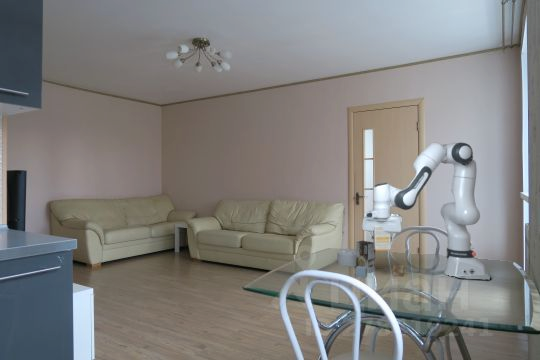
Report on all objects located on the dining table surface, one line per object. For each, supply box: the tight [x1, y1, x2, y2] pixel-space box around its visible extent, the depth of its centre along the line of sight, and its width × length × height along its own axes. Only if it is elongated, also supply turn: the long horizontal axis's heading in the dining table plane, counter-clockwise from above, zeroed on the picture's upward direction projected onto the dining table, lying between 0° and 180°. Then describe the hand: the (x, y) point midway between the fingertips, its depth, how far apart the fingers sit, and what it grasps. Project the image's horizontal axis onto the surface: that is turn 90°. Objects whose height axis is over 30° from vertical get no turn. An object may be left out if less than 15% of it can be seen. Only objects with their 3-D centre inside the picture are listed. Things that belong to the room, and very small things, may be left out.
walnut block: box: [392, 264, 405, 278], centre depth 206 cm, size 5×5×5 cm
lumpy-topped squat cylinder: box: [337, 248, 356, 267], centre depth 230 cm, size 10×13×9 cm
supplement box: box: [372, 226, 392, 252], centre depth 201 cm, size 8×5×13 cm, turn 82°
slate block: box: [355, 266, 368, 279], centre depth 203 cm, size 5×5×5 cm
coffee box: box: [355, 240, 376, 273], centre depth 216 cm, size 9×6×16 cm
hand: (381, 239), depth 200 cm, fingers closed on supplement box, 8 cm apart
